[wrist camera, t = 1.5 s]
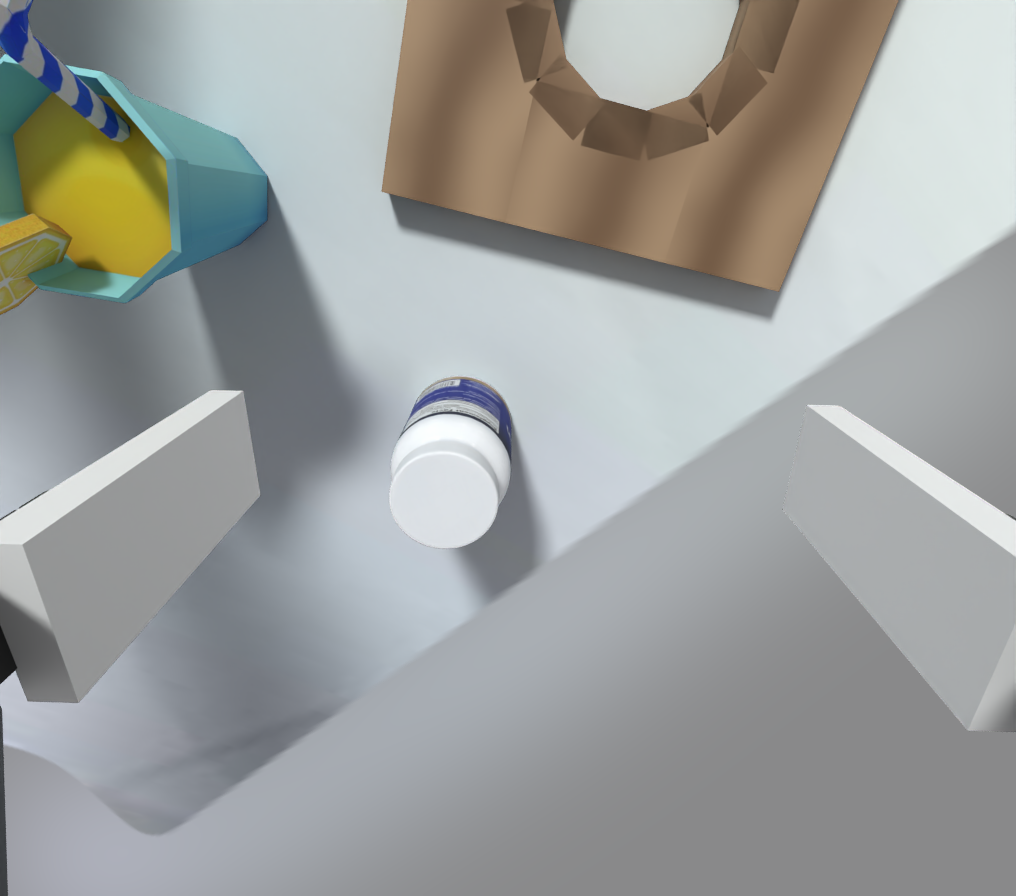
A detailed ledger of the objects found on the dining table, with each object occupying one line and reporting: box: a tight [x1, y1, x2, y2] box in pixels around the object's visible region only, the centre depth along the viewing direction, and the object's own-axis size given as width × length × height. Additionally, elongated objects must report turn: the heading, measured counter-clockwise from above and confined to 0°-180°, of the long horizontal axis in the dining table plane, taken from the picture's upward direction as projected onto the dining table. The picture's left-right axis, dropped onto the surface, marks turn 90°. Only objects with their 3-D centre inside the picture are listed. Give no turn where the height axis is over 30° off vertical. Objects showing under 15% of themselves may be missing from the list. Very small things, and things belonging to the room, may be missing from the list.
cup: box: [0, 0, 267, 315], centre depth 22 cm, size 14×8×15 cm, turn 148°
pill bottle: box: [389, 376, 511, 549], centre depth 29 cm, size 6×6×10 cm
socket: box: [382, 0, 898, 292], centre depth 25 cm, size 20×20×2 cm
